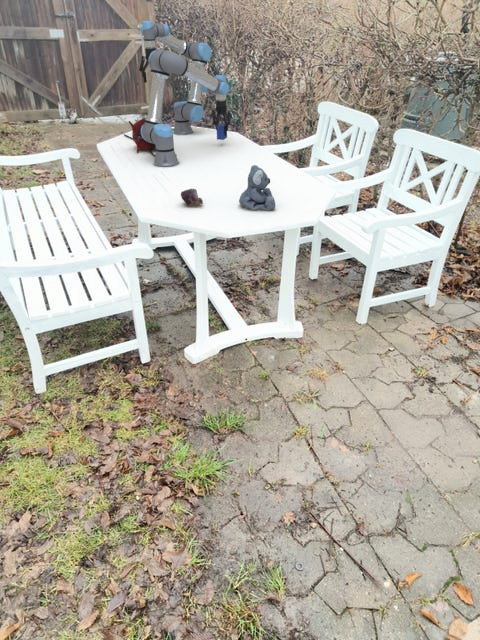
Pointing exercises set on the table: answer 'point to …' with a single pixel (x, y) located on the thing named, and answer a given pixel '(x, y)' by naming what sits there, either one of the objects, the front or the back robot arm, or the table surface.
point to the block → (221, 132)
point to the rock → (191, 197)
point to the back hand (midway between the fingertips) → (154, 82)
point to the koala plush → (257, 191)
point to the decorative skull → (140, 136)
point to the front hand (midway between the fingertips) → (222, 134)
